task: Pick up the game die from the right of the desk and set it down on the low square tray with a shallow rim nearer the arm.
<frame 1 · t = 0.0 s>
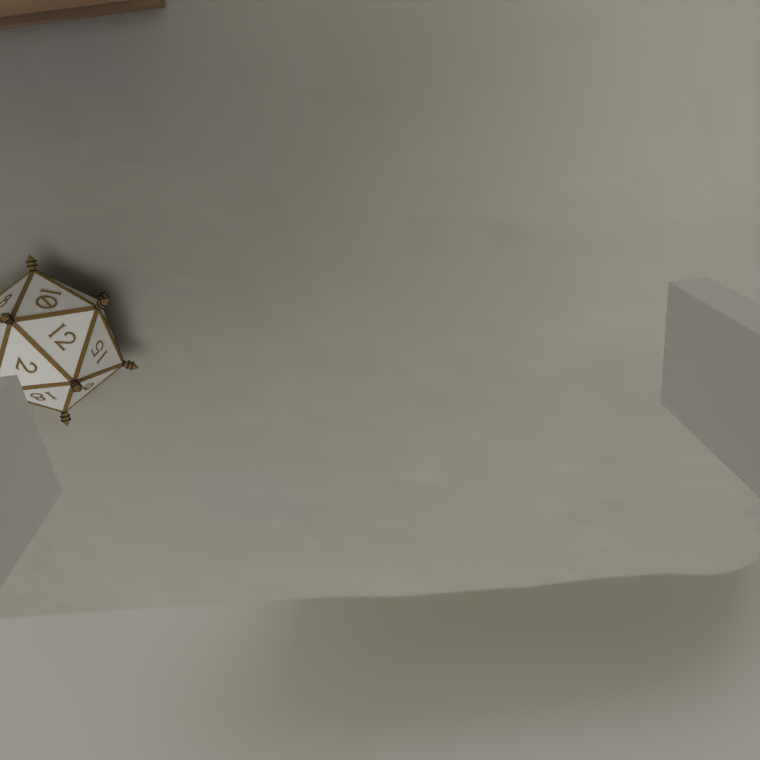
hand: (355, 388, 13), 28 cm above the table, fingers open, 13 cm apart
game die: (74, 318, 41), on the table
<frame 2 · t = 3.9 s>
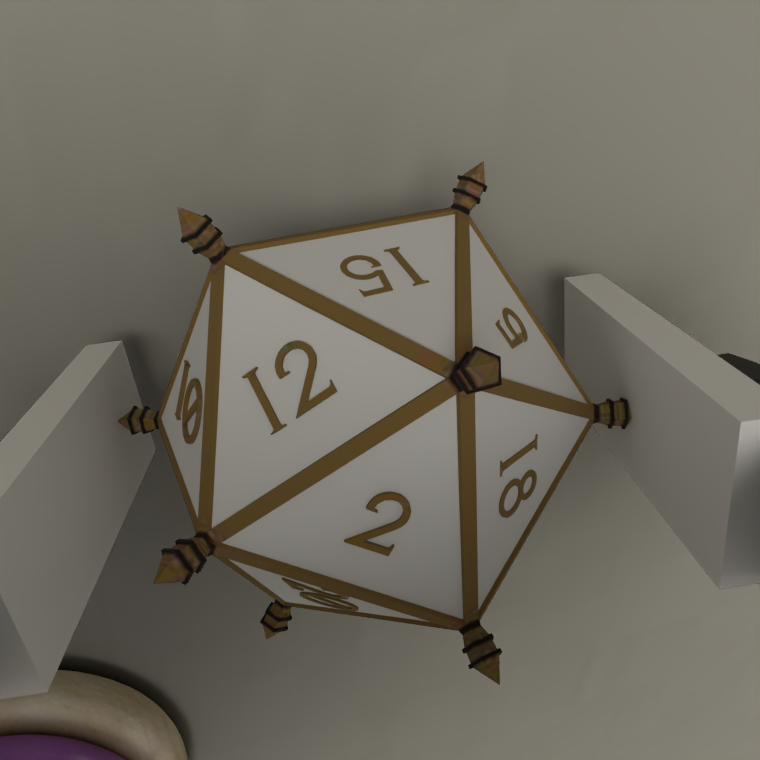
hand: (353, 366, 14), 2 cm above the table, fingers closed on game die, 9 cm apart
stacking toy: (67, 739, 21), on the table
game die: (357, 337, 16), on the table, touching gripper
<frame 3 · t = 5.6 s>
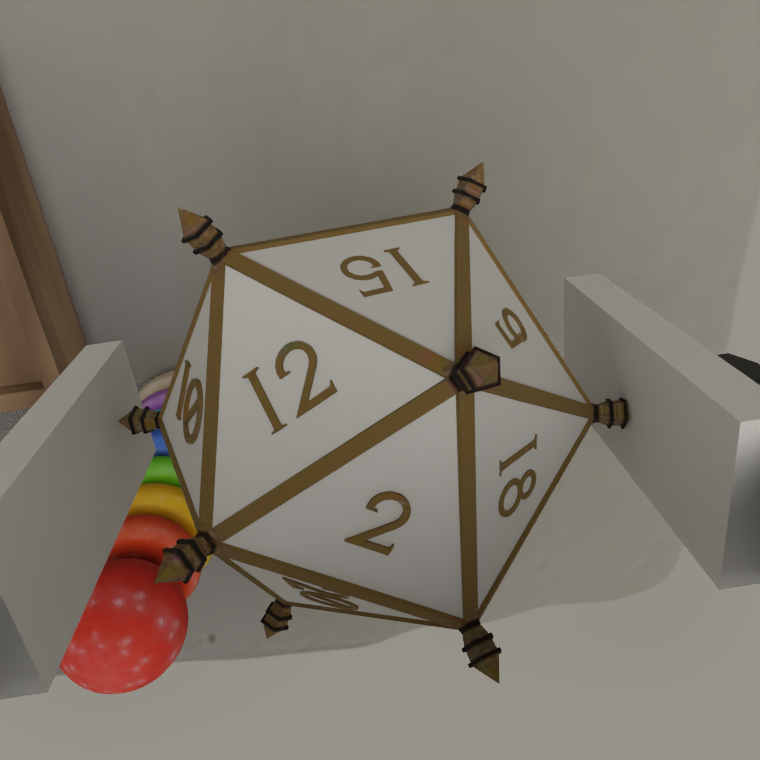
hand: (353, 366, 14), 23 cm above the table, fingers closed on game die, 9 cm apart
stacking toy: (197, 420, 41), on the table
game die: (357, 337, 16), point 22 cm above the table, touching gripper
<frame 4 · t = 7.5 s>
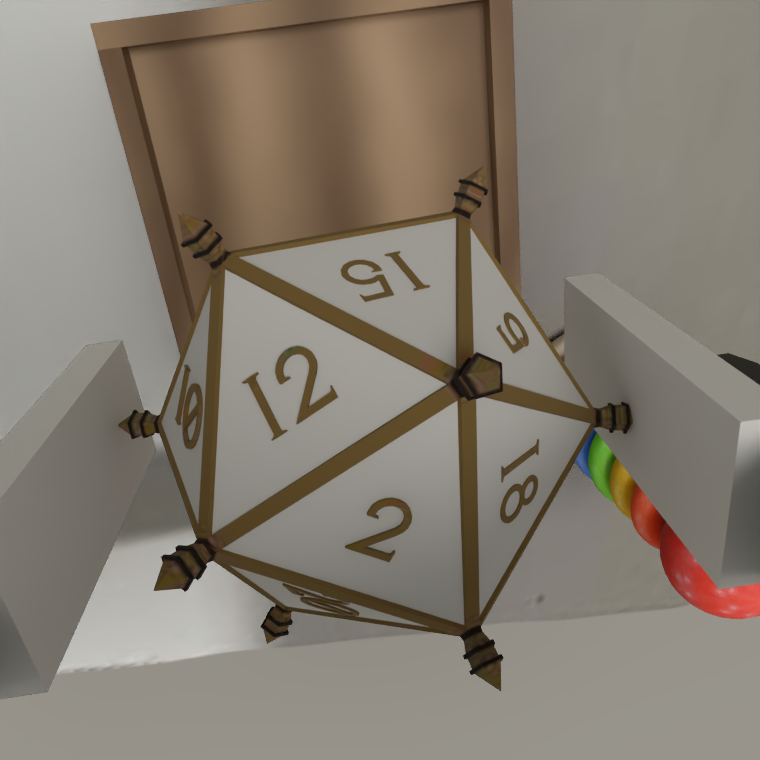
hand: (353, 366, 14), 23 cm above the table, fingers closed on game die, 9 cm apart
stacking toy: (583, 377, 42), on the table
square tray: (332, 196, 35), on the table
game die: (357, 340, 16), point 21 cm above the table, touching gripper
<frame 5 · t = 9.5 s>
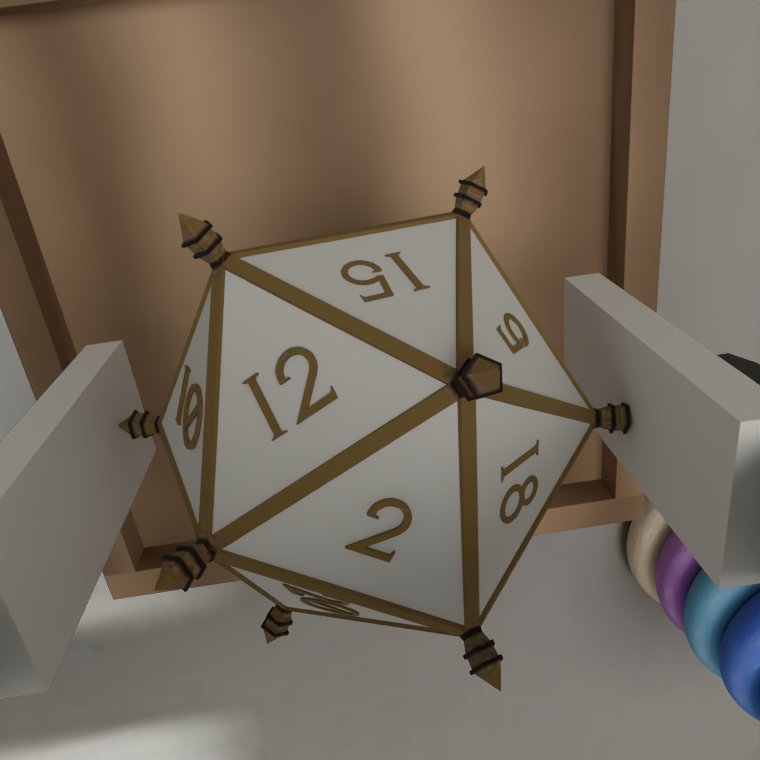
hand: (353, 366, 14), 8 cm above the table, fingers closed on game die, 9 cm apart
stacking toy: (707, 517, 28), on the table
square tray: (338, 266, 22), on the table
game die: (358, 340, 16), point 7 cm above the table, touching gripper
when the fingers open (5 cm above the table, at t = 11.3 s): game die stays where it is, resting on square tray.
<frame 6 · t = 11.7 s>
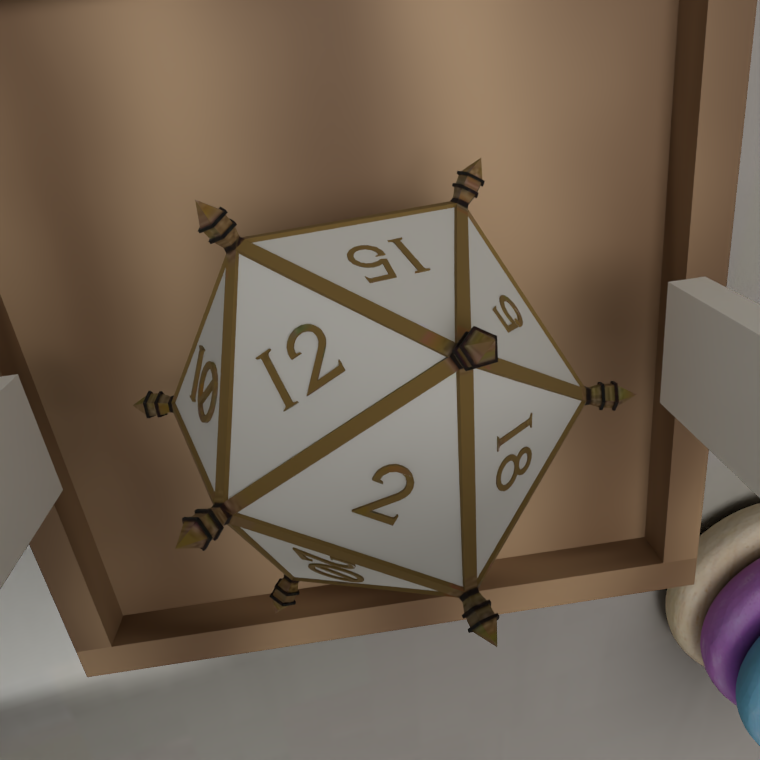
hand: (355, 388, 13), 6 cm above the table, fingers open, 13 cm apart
stacking toy: (754, 569, 25), on the table
square tray: (345, 295, 19), on the table
game die: (360, 327, 17), point 3 cm above the table, touching square tray
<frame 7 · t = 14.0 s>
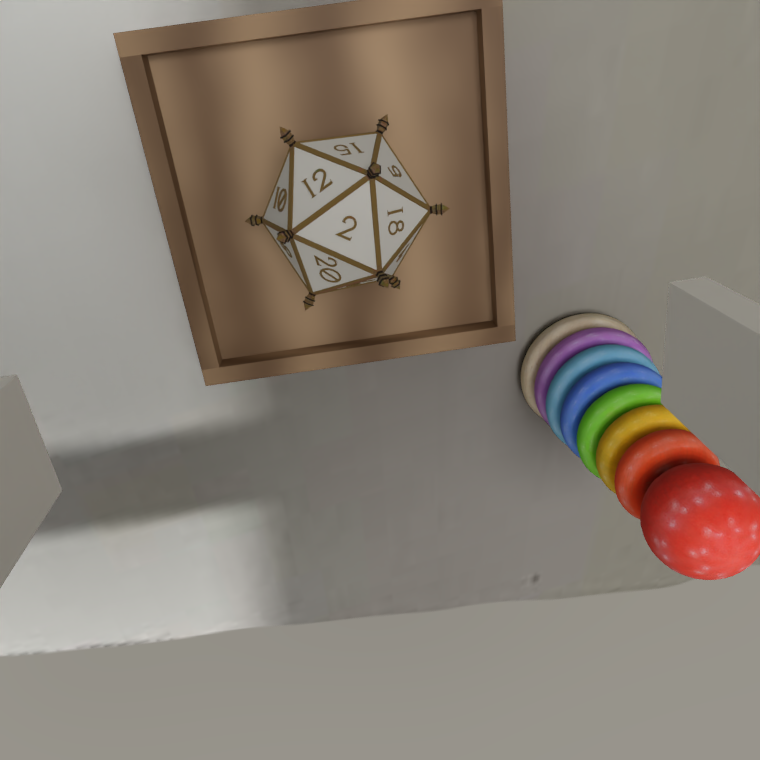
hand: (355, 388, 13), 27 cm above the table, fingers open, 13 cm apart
stacking toy: (575, 364, 44), on the table
square tray: (336, 192, 38), on the table
game die: (342, 200, 35), point 3 cm above the table, touching square tray
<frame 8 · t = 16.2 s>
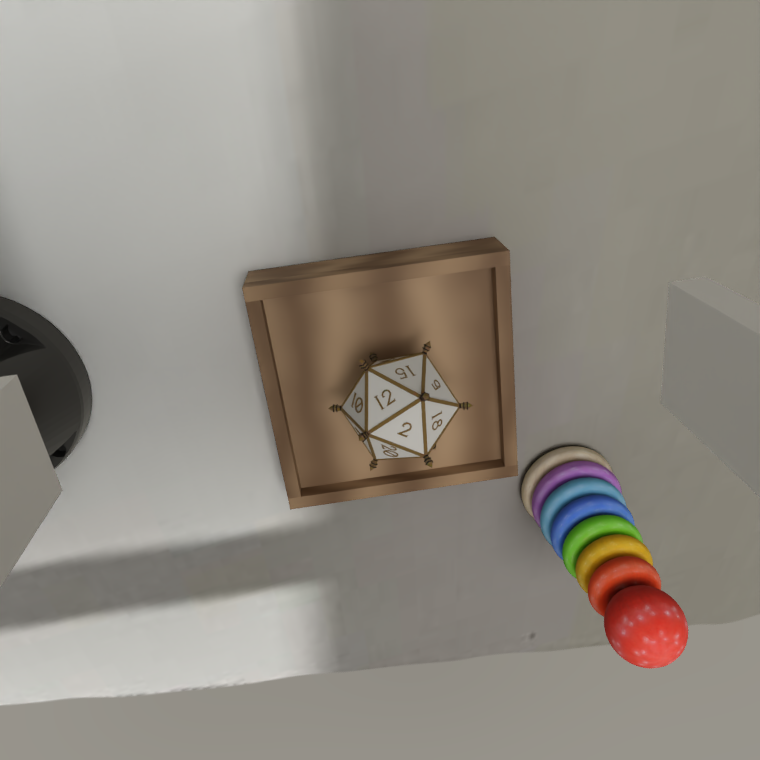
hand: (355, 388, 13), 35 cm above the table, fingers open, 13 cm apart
stacking toy: (562, 480, 57), on the table
square tray: (386, 366, 51), on the table
game die: (393, 381, 49), point 3 cm above the table, touching square tray
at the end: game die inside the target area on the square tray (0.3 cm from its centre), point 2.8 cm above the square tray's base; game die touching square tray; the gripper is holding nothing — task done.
